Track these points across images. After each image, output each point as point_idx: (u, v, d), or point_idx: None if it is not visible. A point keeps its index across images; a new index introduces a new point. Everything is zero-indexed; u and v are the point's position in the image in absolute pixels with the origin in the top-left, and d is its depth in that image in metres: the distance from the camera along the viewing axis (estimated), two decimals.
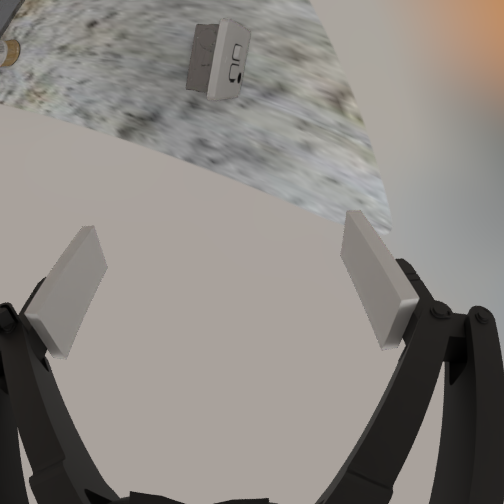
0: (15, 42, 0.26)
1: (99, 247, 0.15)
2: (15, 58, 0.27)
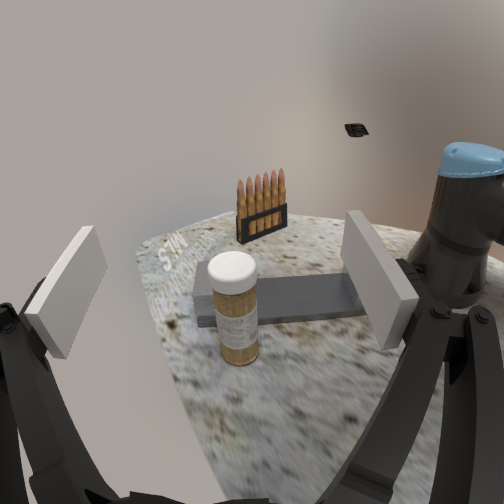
0: (258, 348, 0.35)
1: (99, 247, 0.15)
2: (241, 363, 0.34)
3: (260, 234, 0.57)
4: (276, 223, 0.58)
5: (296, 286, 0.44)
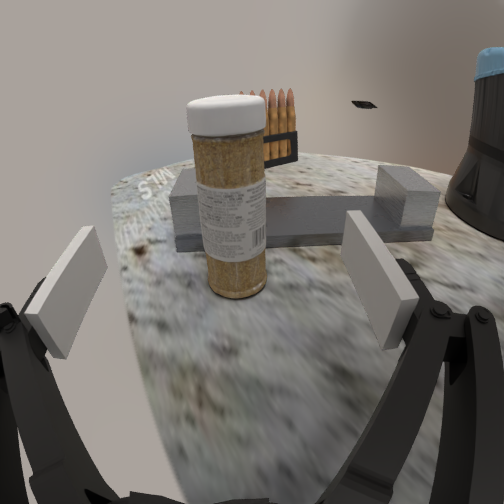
0: (265, 273, 0.23)
1: (99, 247, 0.15)
2: (239, 293, 0.21)
3: (265, 164, 0.45)
4: (284, 154, 0.46)
5: (316, 205, 0.31)
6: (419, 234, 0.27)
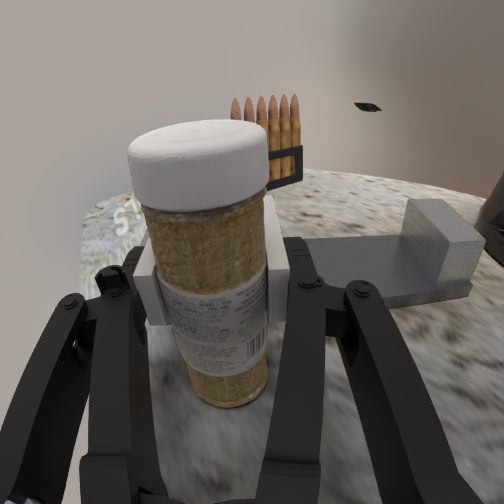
0: (266, 370, 0.16)
1: None
2: (230, 403, 0.15)
3: None
4: (287, 173, 0.39)
5: (330, 252, 0.25)
6: (456, 291, 0.20)
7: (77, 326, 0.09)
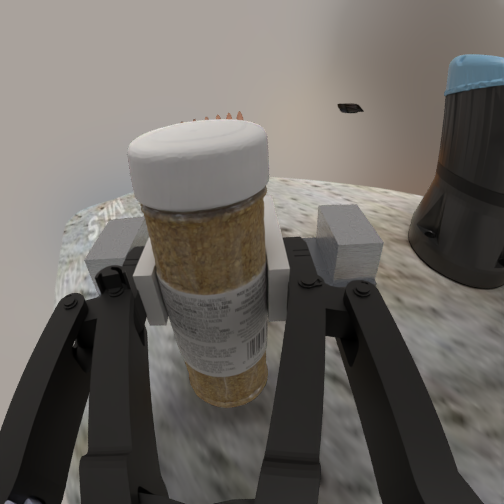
0: (266, 371, 0.16)
1: None
2: (230, 403, 0.15)
3: None
4: None
5: None
6: None
7: (77, 326, 0.09)
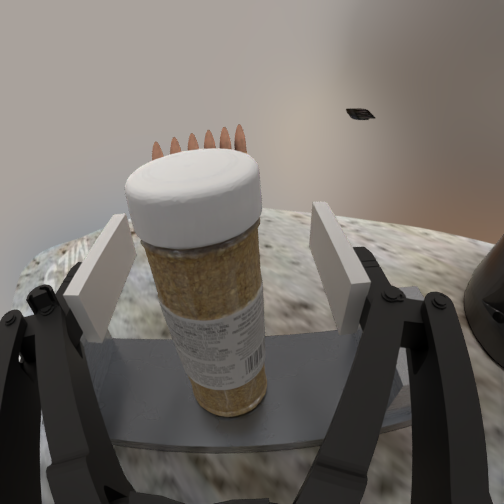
0: (265, 381, 0.17)
1: (130, 235, 0.16)
2: (231, 413, 0.15)
3: None
4: None
5: None
6: (411, 421, 0.14)
7: (19, 339, 0.08)
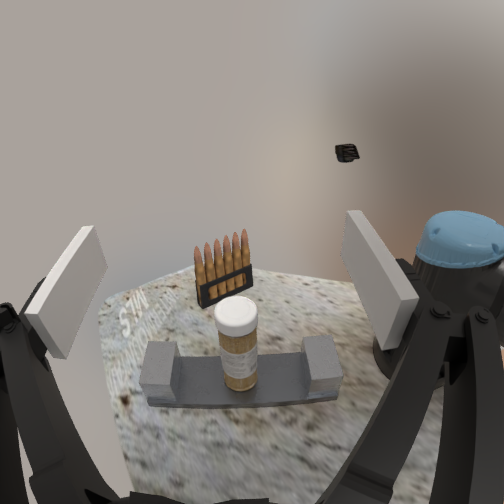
0: (256, 376, 0.38)
1: (99, 247, 0.15)
2: (242, 389, 0.37)
3: (222, 297, 0.54)
4: (240, 284, 0.55)
5: None
6: (324, 398, 0.36)
7: None
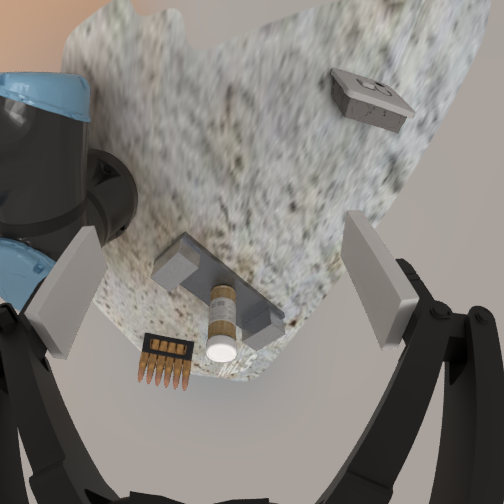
0: (215, 289, 0.52)
1: (99, 247, 0.15)
2: (231, 289, 0.52)
3: (175, 340, 0.62)
4: (156, 340, 0.60)
5: None
6: (193, 241, 0.48)
7: None
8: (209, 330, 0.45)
